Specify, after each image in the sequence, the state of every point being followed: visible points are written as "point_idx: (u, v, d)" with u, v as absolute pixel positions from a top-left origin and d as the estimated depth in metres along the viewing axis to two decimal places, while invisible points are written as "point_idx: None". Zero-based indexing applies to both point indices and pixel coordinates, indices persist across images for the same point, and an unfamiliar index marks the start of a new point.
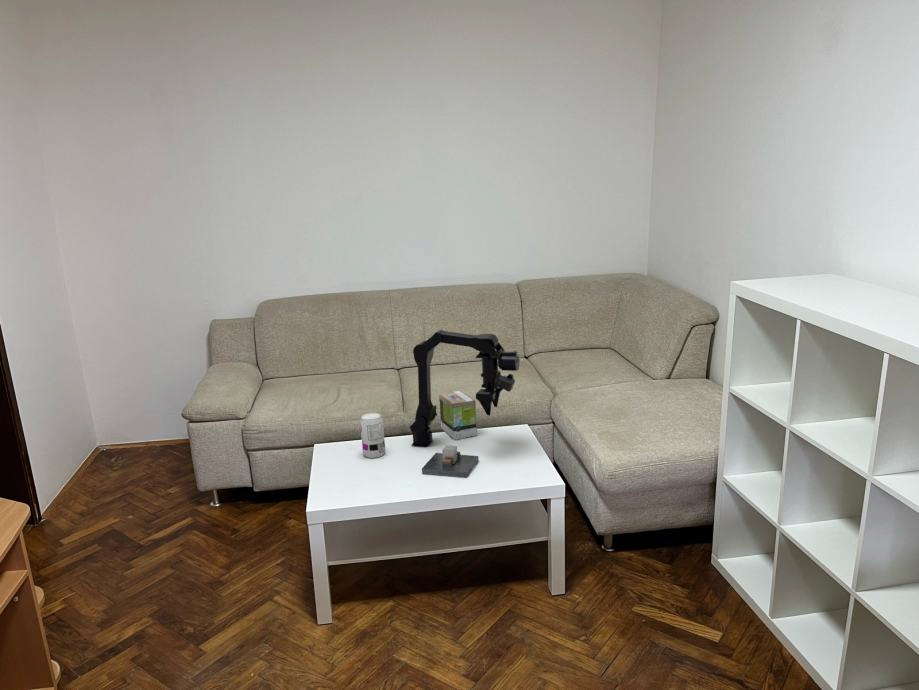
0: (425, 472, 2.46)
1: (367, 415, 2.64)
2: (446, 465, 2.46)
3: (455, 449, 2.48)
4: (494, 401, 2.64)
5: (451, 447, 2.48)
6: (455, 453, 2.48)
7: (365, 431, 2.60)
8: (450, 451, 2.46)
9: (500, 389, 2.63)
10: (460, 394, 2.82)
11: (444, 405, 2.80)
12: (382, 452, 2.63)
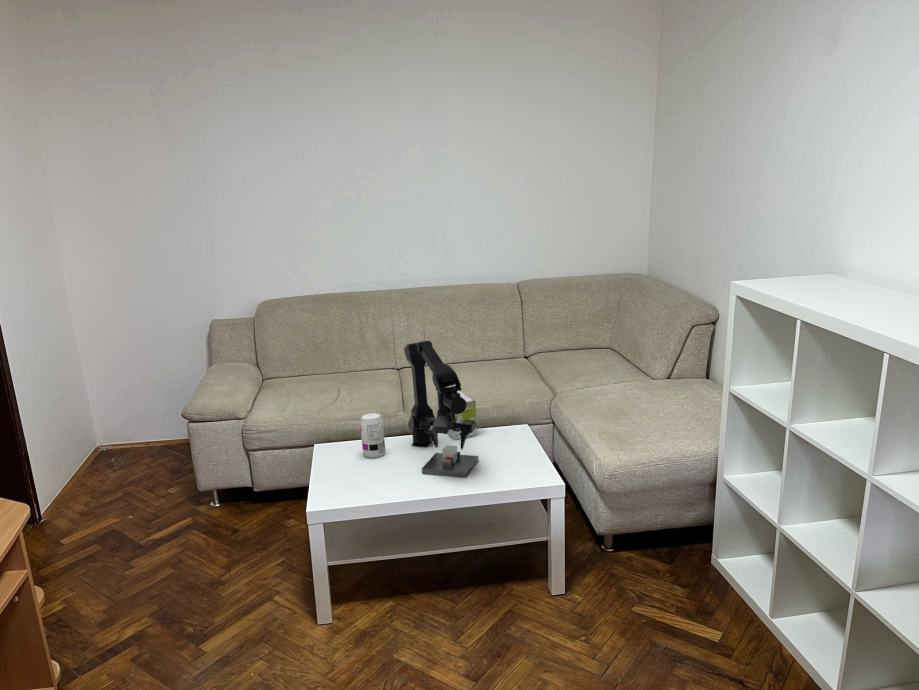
0: (425, 472, 2.46)
1: (367, 415, 2.64)
2: (446, 465, 2.46)
3: (455, 449, 2.48)
4: None
5: (451, 447, 2.48)
6: (455, 453, 2.48)
7: (365, 431, 2.60)
8: (450, 451, 2.46)
9: (460, 433, 2.44)
10: (460, 394, 2.82)
11: None
12: (382, 452, 2.63)
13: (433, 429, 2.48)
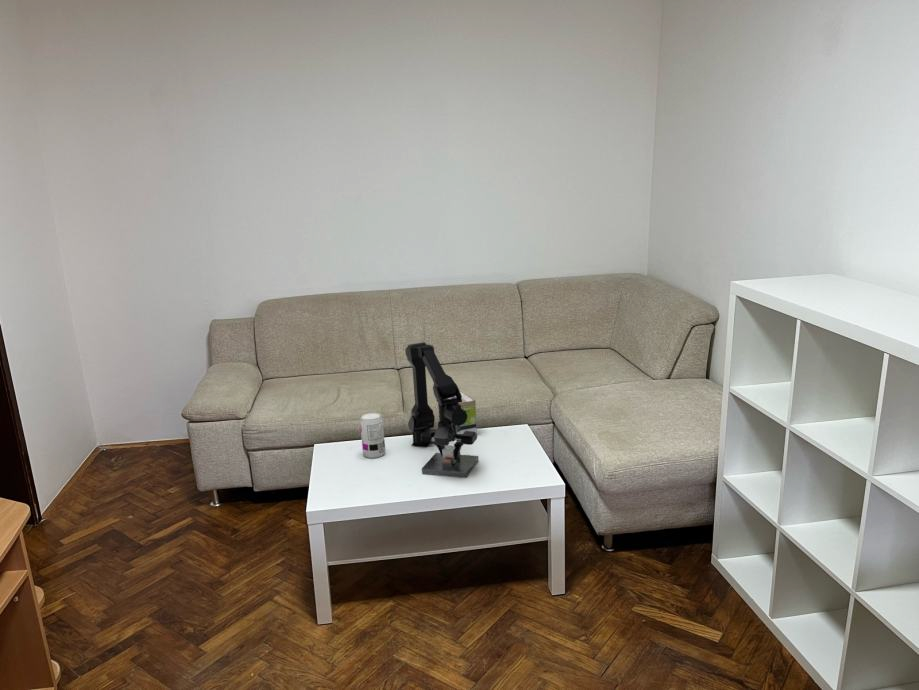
0: (425, 472, 2.46)
1: (367, 415, 2.64)
2: (446, 465, 2.46)
3: None
4: None
5: (451, 447, 2.48)
6: None
7: (365, 431, 2.60)
8: (450, 451, 2.46)
9: (454, 444, 2.45)
10: None
11: None
12: (382, 452, 2.63)
13: None
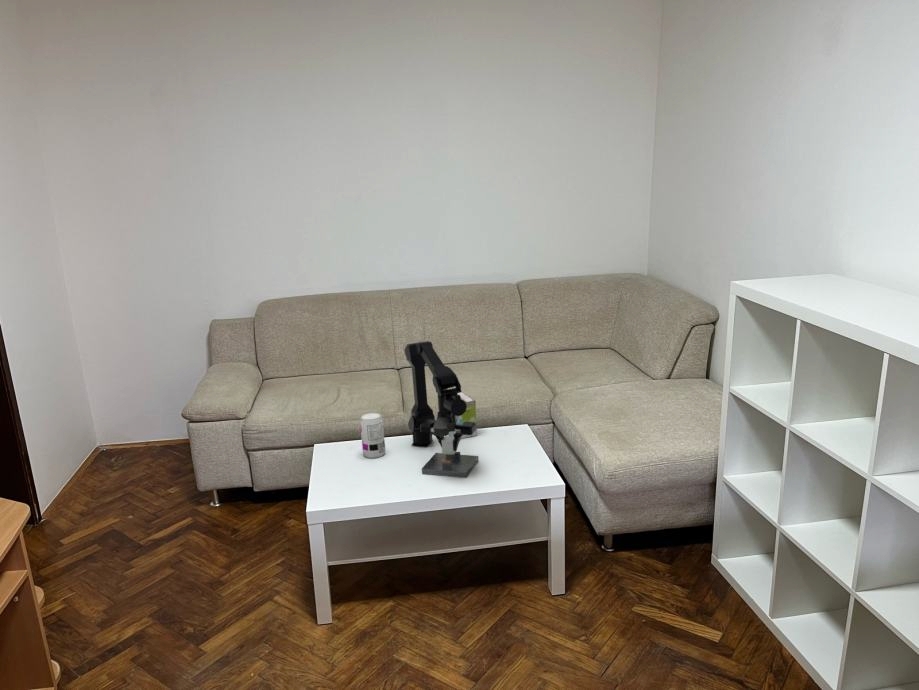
0: (425, 472, 2.46)
1: (367, 415, 2.64)
2: (446, 465, 2.46)
3: None
4: None
5: (450, 438, 2.48)
6: None
7: (365, 431, 2.60)
8: (450, 441, 2.46)
9: (454, 434, 2.44)
10: (460, 394, 2.82)
11: None
12: (382, 452, 2.63)
13: None
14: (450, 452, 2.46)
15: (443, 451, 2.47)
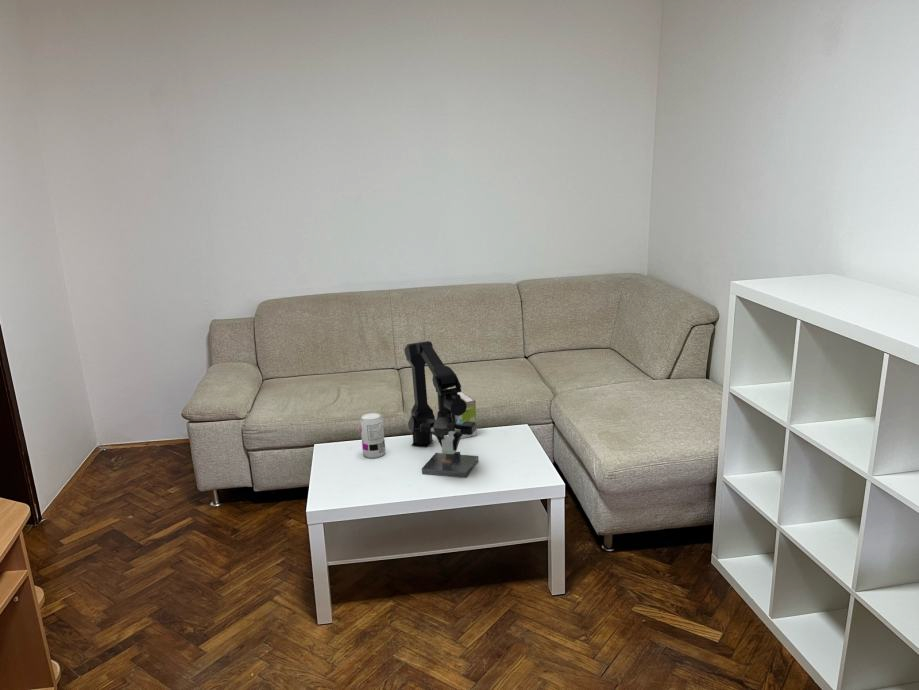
0: (425, 472, 2.46)
1: (367, 415, 2.64)
2: (446, 465, 2.46)
3: None
4: None
5: (450, 437, 2.48)
6: None
7: (365, 431, 2.60)
8: (450, 441, 2.45)
9: None
10: (460, 394, 2.82)
11: None
12: (382, 452, 2.63)
13: None
14: (450, 452, 2.46)
15: (443, 451, 2.47)
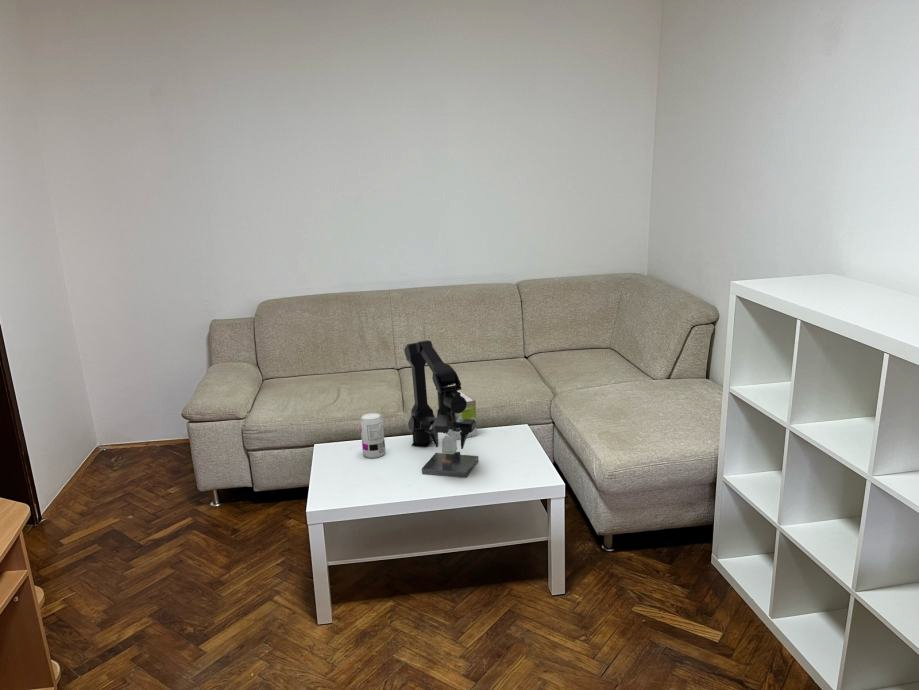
0: (425, 472, 2.46)
1: (367, 415, 2.64)
2: (446, 465, 2.46)
3: (455, 439, 2.48)
4: None
5: (450, 437, 2.48)
6: (454, 443, 2.48)
7: (365, 431, 2.60)
8: (450, 441, 2.45)
9: None
10: None
11: None
12: (382, 452, 2.63)
13: (433, 428, 2.48)
14: (450, 452, 2.46)
15: (443, 451, 2.47)
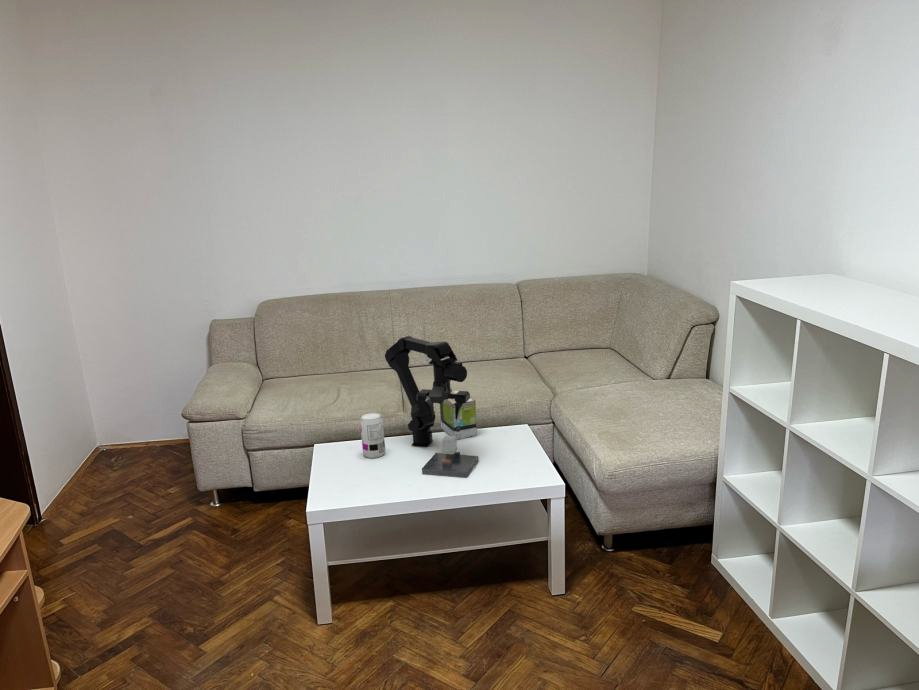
0: (425, 472, 2.46)
1: (367, 415, 2.64)
2: (446, 465, 2.46)
3: (455, 439, 2.48)
4: None
5: (450, 437, 2.48)
6: (454, 443, 2.48)
7: (365, 431, 2.60)
8: (450, 441, 2.45)
9: (455, 403, 2.56)
10: None
11: (444, 405, 2.80)
12: (382, 452, 2.63)
13: (429, 400, 2.60)
14: (450, 452, 2.46)
15: (443, 451, 2.47)
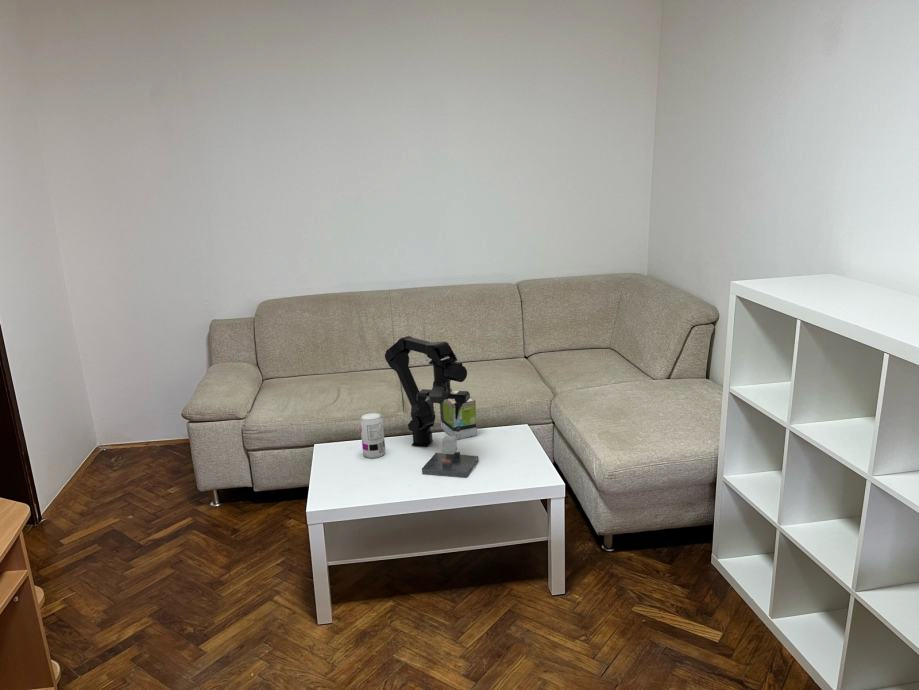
0: (425, 472, 2.46)
1: (367, 415, 2.64)
2: (446, 465, 2.46)
3: (455, 439, 2.48)
4: None
5: (450, 437, 2.48)
6: (454, 443, 2.48)
7: (365, 431, 2.60)
8: (450, 441, 2.45)
9: (455, 403, 2.56)
10: None
11: (444, 405, 2.80)
12: (382, 452, 2.63)
13: (429, 400, 2.60)
14: (450, 452, 2.46)
15: (443, 451, 2.47)
